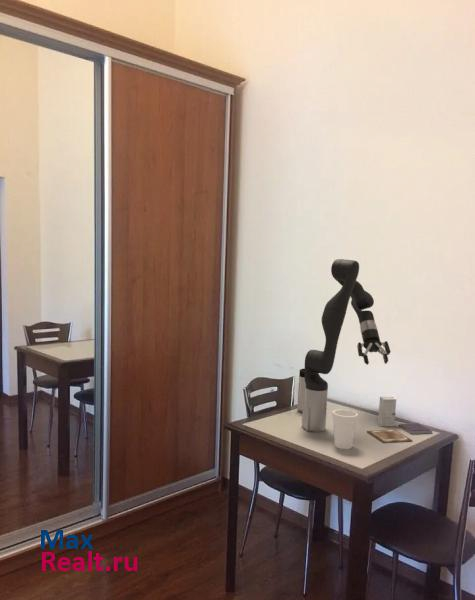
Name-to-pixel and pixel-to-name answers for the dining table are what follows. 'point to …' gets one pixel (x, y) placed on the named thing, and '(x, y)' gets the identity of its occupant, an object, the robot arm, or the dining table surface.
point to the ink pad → (415, 428)
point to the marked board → (389, 436)
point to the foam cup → (344, 427)
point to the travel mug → (301, 390)
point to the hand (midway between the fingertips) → (376, 363)
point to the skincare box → (387, 411)
